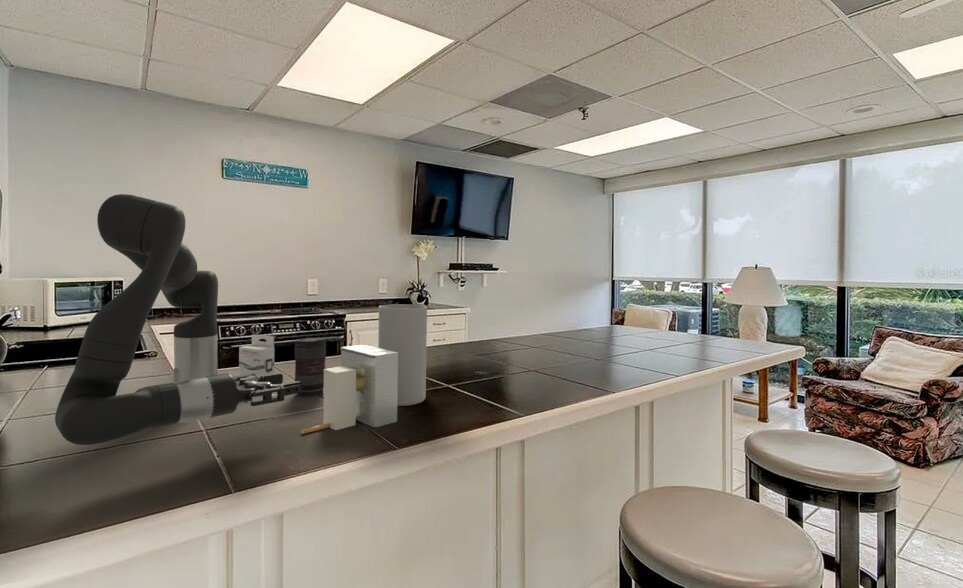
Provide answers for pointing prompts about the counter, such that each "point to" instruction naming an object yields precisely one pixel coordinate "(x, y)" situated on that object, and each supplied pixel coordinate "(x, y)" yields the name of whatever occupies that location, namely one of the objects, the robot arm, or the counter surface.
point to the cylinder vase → (406, 348)
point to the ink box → (257, 357)
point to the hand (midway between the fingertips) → (291, 382)
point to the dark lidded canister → (310, 365)
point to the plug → (339, 398)
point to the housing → (374, 383)
